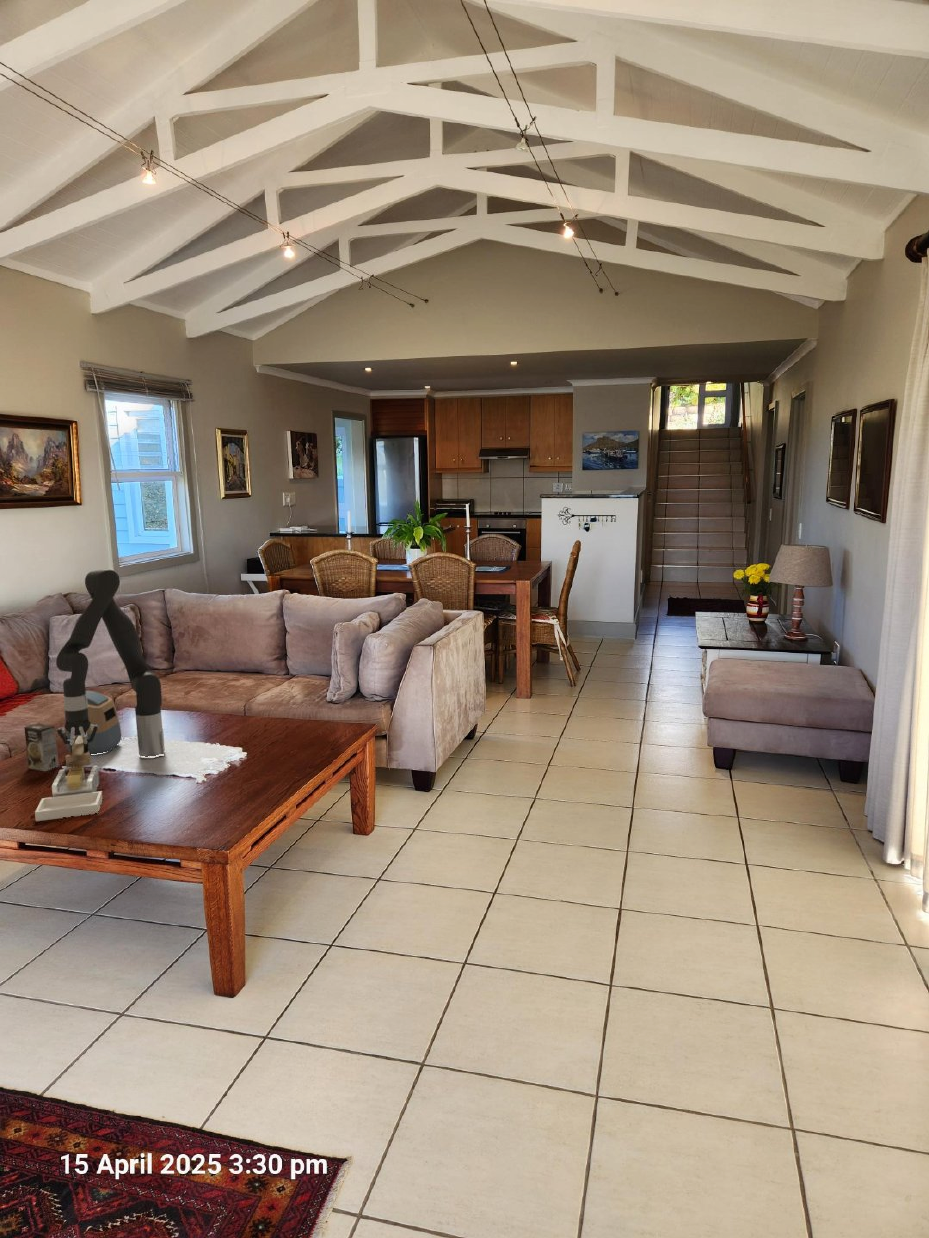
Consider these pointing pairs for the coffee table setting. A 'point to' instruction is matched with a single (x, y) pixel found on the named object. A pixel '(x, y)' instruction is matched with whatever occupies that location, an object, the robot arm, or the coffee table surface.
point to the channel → (87, 786)
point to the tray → (68, 806)
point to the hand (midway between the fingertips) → (80, 753)
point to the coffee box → (41, 746)
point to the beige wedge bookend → (78, 755)
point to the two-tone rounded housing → (101, 723)
